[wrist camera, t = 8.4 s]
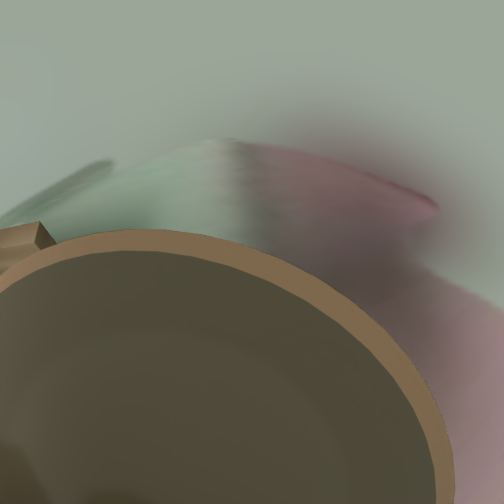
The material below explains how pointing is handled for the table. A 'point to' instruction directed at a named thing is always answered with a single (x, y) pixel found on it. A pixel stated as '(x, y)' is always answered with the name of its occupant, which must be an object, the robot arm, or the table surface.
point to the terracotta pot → (203, 382)
